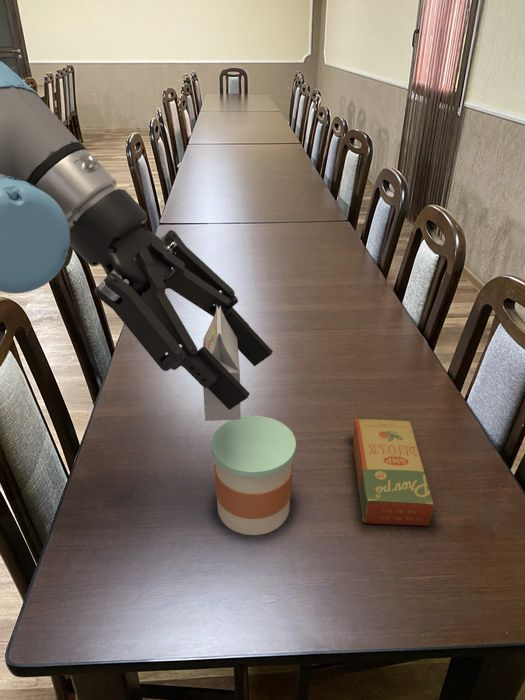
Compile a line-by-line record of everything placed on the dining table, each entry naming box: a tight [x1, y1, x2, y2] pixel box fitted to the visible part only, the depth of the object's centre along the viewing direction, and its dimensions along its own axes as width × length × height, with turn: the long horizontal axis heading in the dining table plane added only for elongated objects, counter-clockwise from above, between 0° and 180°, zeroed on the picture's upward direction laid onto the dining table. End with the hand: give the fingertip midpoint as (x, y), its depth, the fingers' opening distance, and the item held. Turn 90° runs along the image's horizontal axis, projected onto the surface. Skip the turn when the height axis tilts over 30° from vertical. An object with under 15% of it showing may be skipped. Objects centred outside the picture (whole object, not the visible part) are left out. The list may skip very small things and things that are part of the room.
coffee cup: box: [210, 415, 297, 536], centre depth 66 cm, size 10×10×11 cm
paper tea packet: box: [202, 306, 242, 422], centre depth 56 cm, size 4×7×10 cm, turn 5°
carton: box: [352, 418, 434, 527], centre depth 72 cm, size 8×16×4 cm, turn 177°
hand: (252, 379), depth 56 cm, fingers closed on paper tea packet, 8 cm apart
